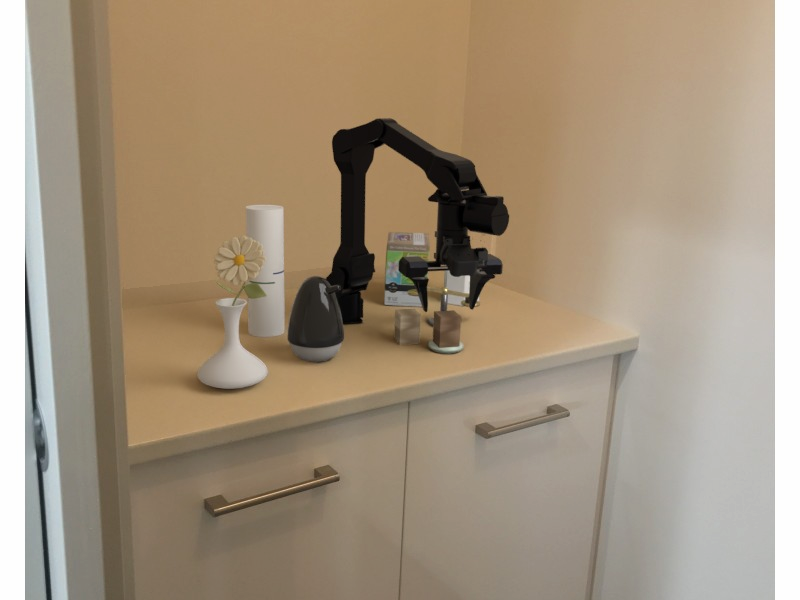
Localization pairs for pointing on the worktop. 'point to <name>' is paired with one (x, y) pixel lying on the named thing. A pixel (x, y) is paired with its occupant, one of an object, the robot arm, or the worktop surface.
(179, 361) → the worktop surface
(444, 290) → the balance
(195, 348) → the worktop surface
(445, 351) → the dish
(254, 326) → the cylindrical container
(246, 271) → the flower in vase
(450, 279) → the jar
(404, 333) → the block beech
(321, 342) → the pump dispenser
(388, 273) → the tea box
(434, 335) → the block walnut
